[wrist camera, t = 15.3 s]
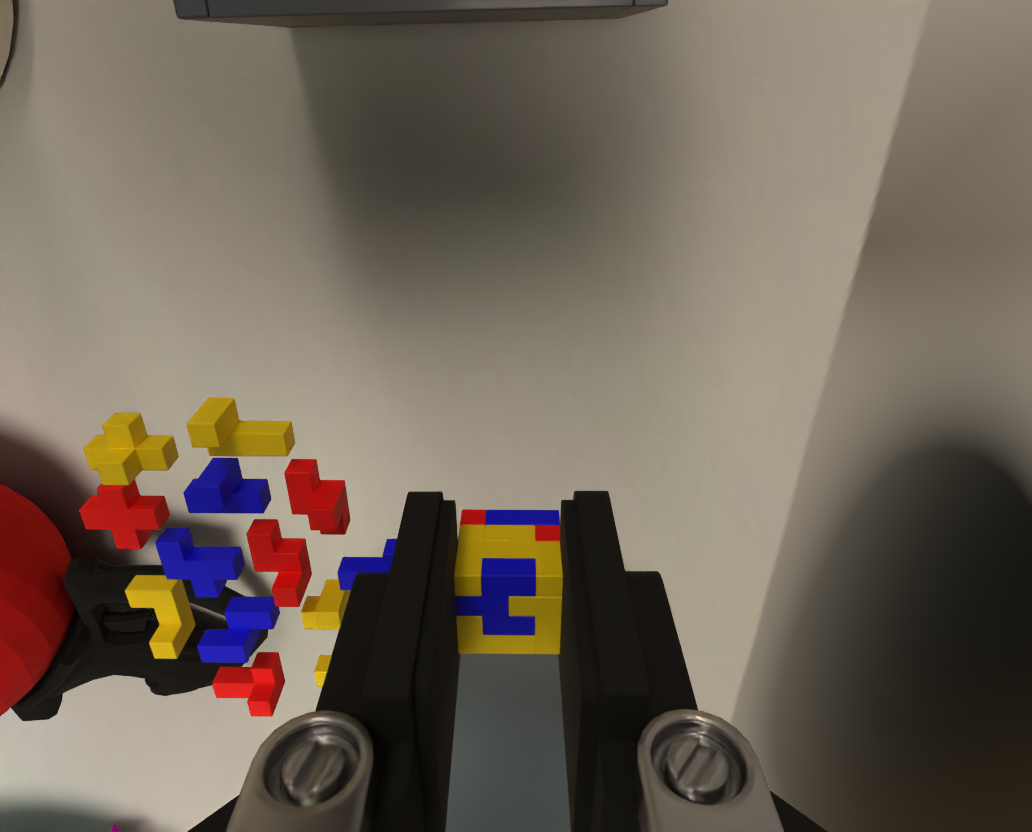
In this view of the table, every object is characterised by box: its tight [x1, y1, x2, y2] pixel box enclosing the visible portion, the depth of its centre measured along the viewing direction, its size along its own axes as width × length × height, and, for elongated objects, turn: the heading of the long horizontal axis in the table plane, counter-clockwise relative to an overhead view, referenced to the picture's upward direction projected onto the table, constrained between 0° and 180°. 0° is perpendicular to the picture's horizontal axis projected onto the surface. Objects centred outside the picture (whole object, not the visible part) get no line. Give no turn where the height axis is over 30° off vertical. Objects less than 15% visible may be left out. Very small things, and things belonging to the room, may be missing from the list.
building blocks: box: [79, 398, 563, 716], centre depth 12 cm, size 6×8×2 cm
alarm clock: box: [445, 653, 571, 832], centre depth 29 cm, size 14×10×18 cm
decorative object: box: [0, 484, 268, 721], centre depth 32 cm, size 12×16×20 cm
